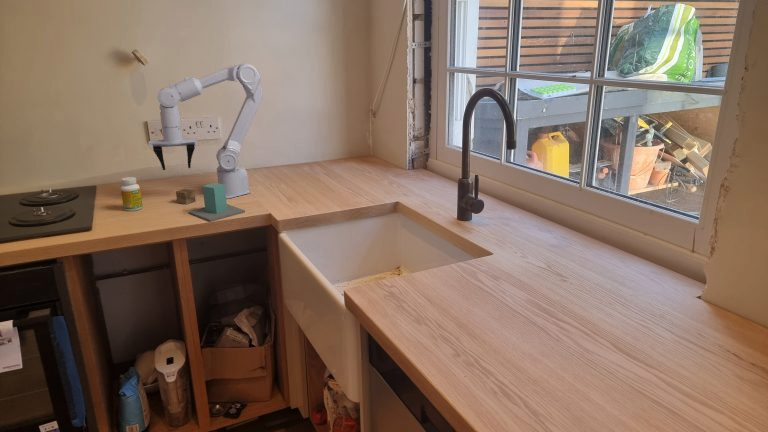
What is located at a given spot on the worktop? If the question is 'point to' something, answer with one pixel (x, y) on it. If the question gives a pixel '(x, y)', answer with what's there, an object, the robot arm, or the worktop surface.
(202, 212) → the slate mat
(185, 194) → the walnut block
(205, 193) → the teal block
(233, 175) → the robot arm
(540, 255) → the worktop surface
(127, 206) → the supplement bottle
